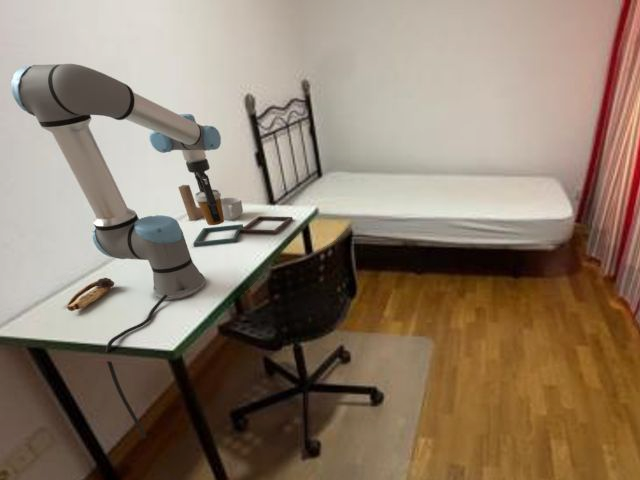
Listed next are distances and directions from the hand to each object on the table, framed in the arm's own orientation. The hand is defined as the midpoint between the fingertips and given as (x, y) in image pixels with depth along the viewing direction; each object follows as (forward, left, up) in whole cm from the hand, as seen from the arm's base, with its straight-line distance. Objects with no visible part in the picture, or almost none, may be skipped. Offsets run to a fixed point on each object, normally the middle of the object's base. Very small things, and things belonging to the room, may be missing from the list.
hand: (214, 218), depth 179 cm
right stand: (+12, -15, -8) cm, 21 cm away
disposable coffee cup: (0, 0, -2) cm, 2 cm away
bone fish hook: (-52, +14, -8) cm, 55 cm away
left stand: (0, 0, -8) cm, 8 cm away
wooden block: (+20, +24, -8) cm, 32 cm away
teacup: (+20, +6, -8) cm, 22 cm away
